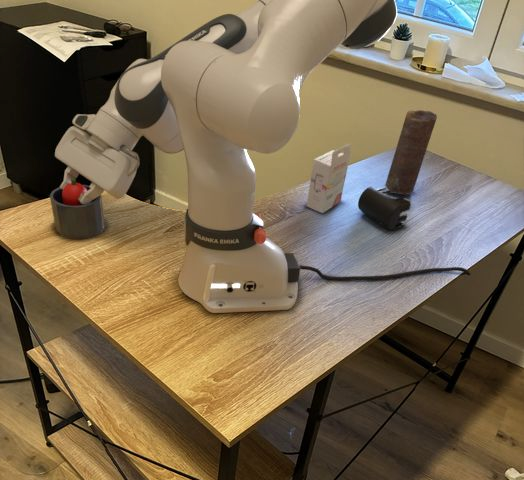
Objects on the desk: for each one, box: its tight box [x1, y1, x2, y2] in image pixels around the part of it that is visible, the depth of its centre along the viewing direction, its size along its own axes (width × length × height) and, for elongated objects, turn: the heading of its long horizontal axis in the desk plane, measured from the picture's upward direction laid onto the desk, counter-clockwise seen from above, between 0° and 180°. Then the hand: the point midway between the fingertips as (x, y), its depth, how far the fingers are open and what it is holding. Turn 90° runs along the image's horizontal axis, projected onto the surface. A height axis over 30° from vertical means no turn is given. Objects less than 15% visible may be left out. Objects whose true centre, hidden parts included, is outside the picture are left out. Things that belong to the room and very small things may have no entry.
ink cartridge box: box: [306, 143, 352, 214], centre depth 124 cm, size 9×5×15 cm, turn 143°
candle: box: [384, 109, 438, 196], centre depth 132 cm, size 8×7×20 cm
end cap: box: [357, 186, 412, 231], centre depth 123 cm, size 10×7×7 cm
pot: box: [49, 184, 105, 240], centre depth 107 cm, size 10×10×7 cm
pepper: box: [62, 178, 87, 206], centre depth 105 cm, size 5×5×8 cm
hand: (72, 197), depth 105 cm, fingers closed on pepper, 5 cm apart
